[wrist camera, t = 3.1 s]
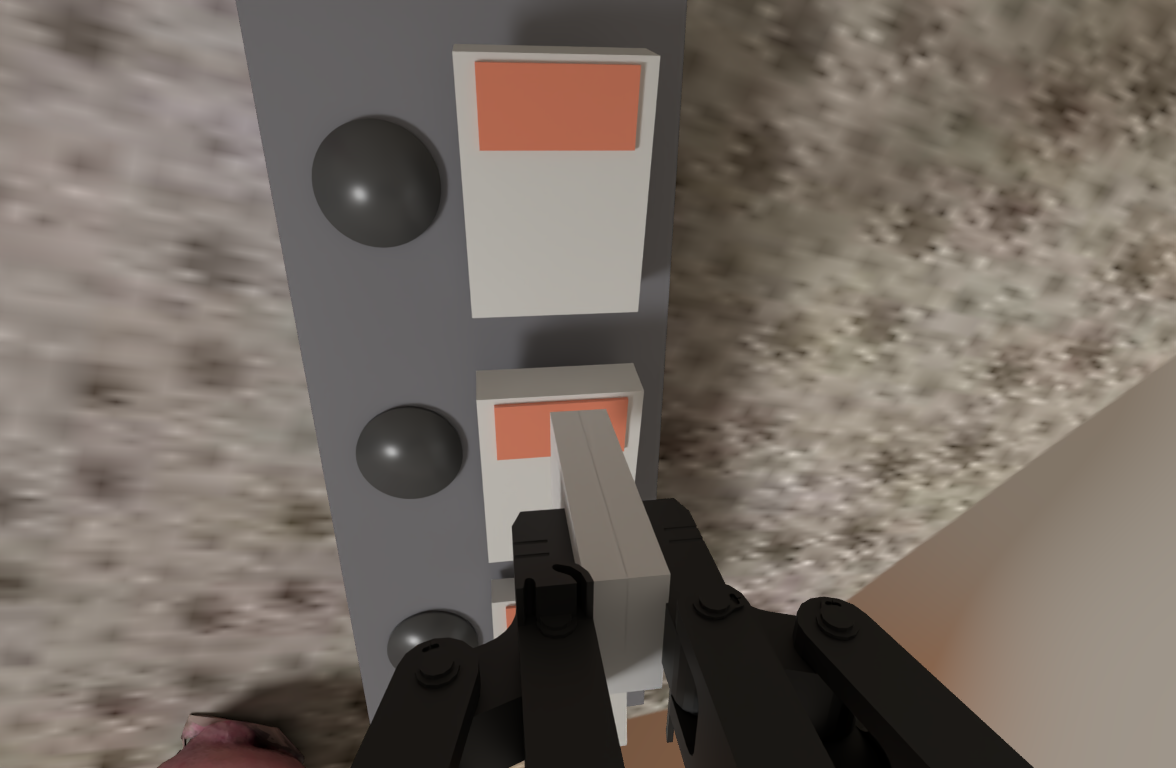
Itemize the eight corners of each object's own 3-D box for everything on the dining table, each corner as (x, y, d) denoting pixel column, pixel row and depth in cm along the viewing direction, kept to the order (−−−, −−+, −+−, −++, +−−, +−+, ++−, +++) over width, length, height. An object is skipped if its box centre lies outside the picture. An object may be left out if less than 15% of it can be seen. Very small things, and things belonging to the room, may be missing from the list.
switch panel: (385, 664, 31) (372, 743, 27) (277, 3, 20) (229, -21, 16) (625, 637, 33) (644, 708, 29) (652, 15, 21) (689, -5, 18)
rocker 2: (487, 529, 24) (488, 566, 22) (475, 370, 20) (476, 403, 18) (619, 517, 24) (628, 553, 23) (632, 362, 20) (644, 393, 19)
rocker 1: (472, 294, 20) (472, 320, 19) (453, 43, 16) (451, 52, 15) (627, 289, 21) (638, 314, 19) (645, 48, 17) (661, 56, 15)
